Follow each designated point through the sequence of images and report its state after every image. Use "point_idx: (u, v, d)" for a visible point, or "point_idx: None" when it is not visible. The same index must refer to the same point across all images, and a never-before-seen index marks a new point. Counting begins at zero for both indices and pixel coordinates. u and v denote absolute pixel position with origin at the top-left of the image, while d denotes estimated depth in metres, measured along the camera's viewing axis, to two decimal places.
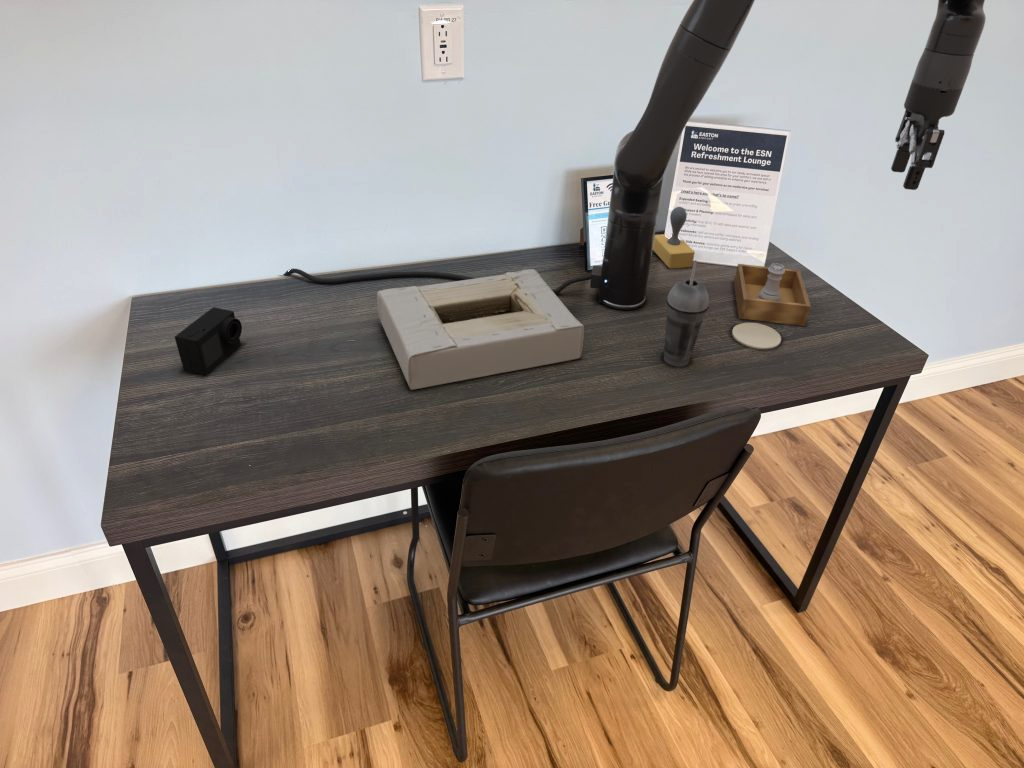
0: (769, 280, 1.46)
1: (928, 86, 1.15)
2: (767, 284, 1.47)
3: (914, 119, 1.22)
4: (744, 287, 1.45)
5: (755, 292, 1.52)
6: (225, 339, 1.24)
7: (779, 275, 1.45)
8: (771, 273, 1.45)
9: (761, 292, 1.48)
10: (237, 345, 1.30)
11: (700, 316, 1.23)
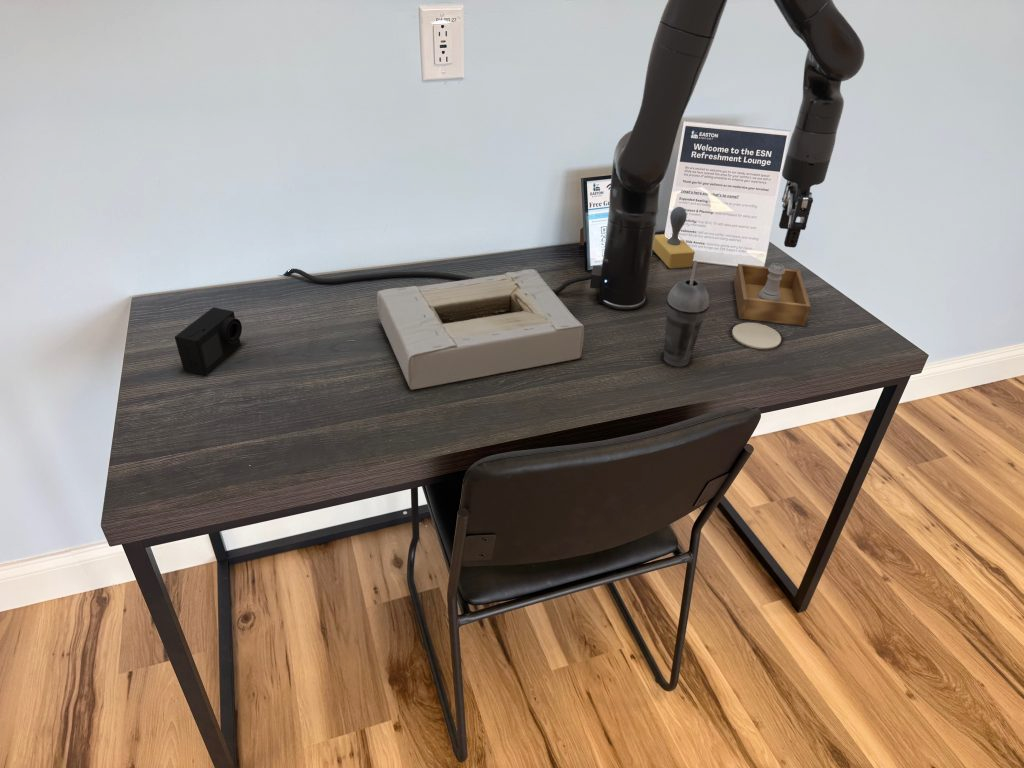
0: (769, 280, 1.46)
1: (798, 159, 1.29)
2: (767, 284, 1.47)
3: (792, 185, 1.36)
4: (744, 287, 1.45)
5: (755, 292, 1.52)
6: (225, 339, 1.24)
7: (779, 275, 1.45)
8: (771, 273, 1.45)
9: (761, 292, 1.48)
10: (237, 345, 1.30)
11: (700, 316, 1.23)
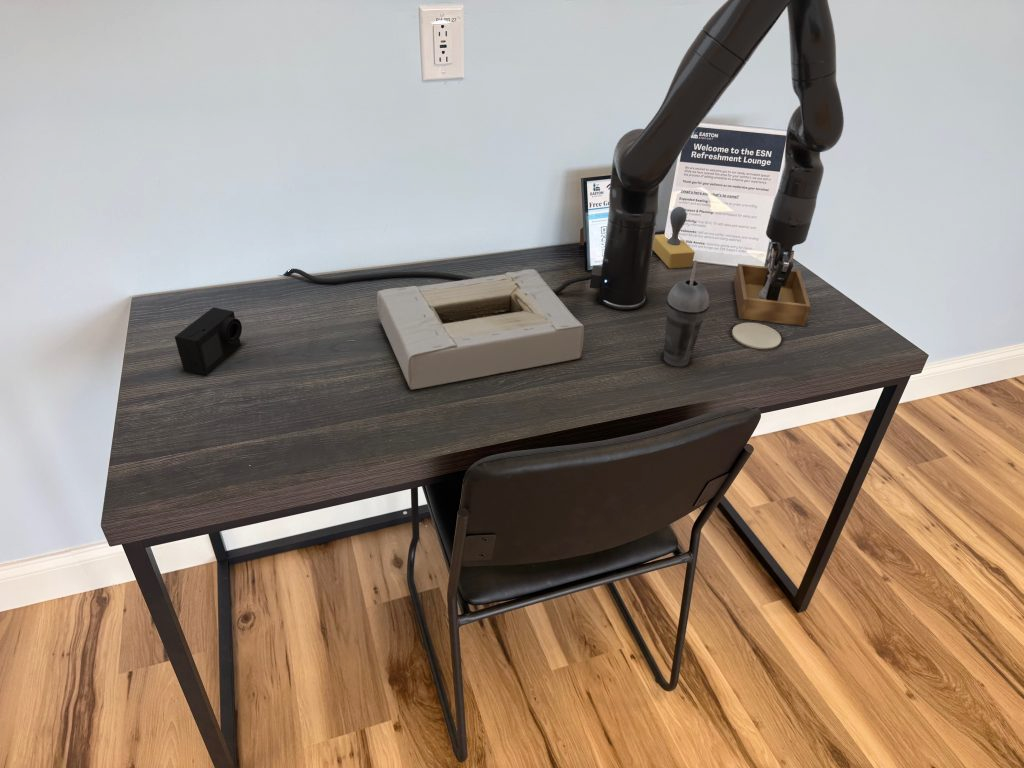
0: (769, 280, 1.46)
1: (781, 221, 1.36)
2: (767, 284, 1.47)
3: (776, 242, 1.43)
4: (744, 287, 1.45)
5: (755, 292, 1.52)
6: (225, 339, 1.24)
7: None
8: (771, 273, 1.45)
9: (761, 292, 1.48)
10: (237, 345, 1.30)
11: (700, 316, 1.23)
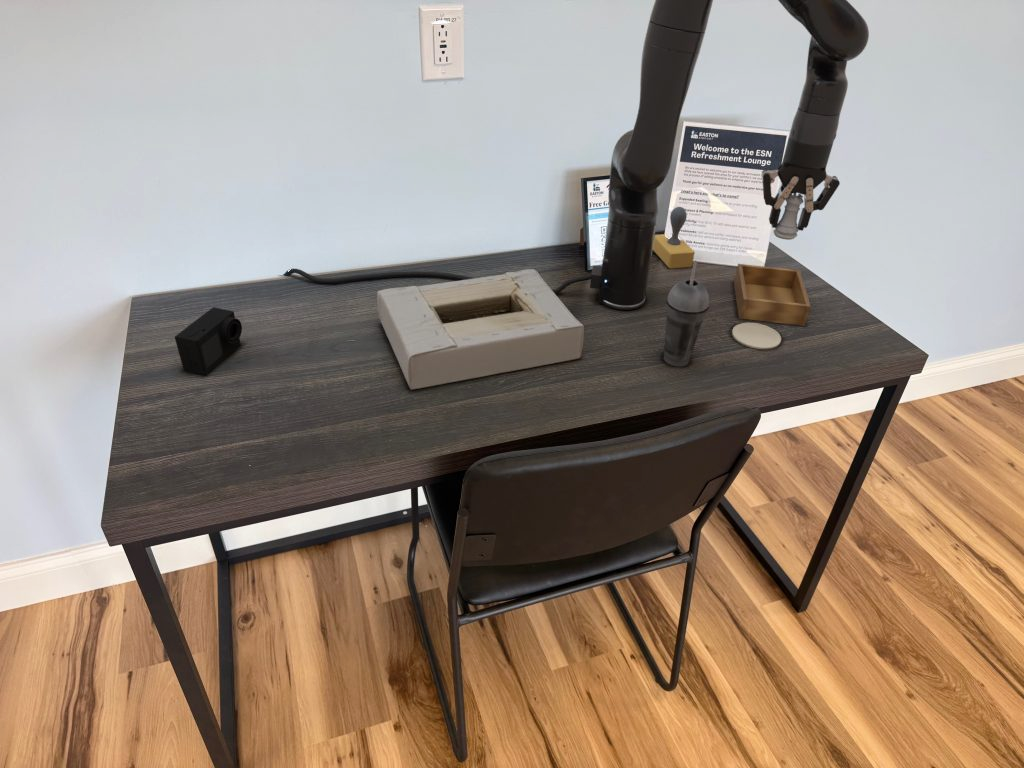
0: None
1: None
2: None
3: None
4: (744, 287, 1.45)
5: (755, 292, 1.52)
6: (225, 339, 1.24)
7: (787, 203, 1.36)
8: None
9: None
10: (237, 345, 1.30)
11: (700, 316, 1.23)
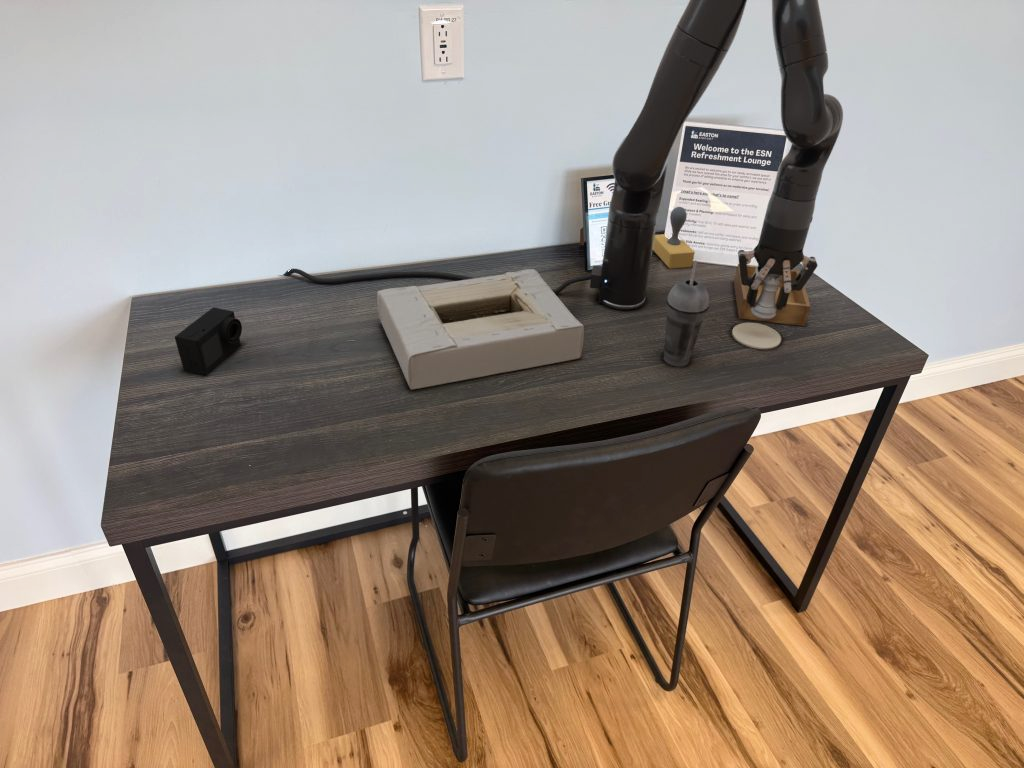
0: None
1: None
2: None
3: None
4: (744, 287, 1.45)
5: None
6: (225, 339, 1.24)
7: (765, 283, 1.32)
8: None
9: None
10: (237, 345, 1.30)
11: (700, 316, 1.23)
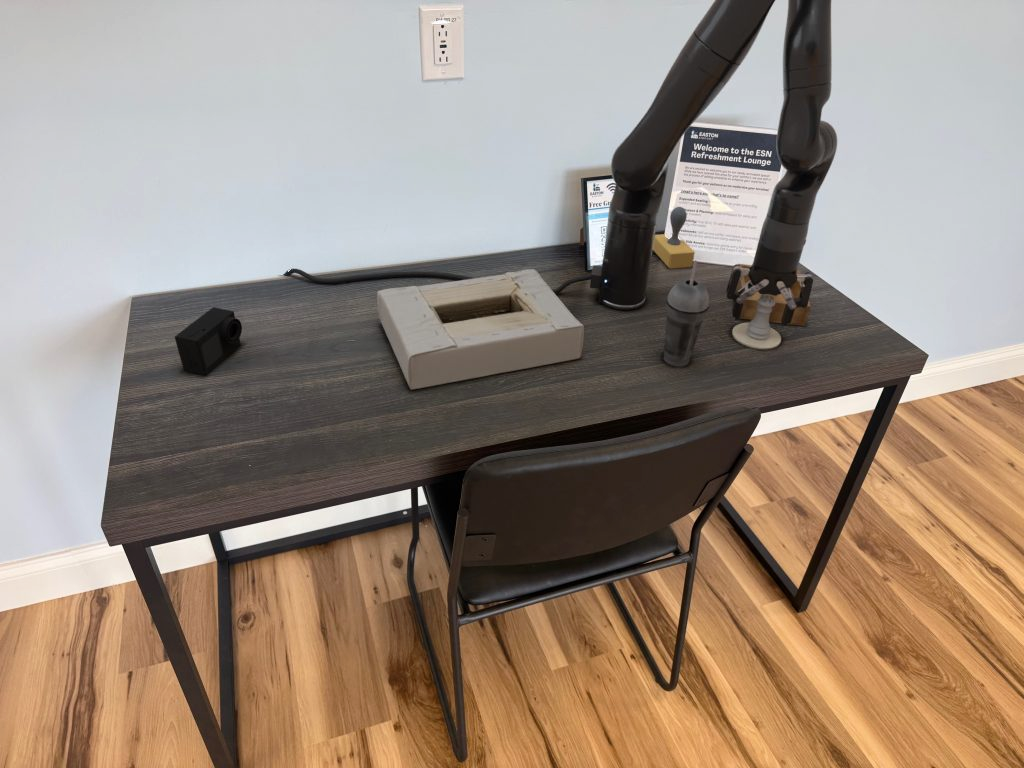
0: None
1: None
2: None
3: None
4: None
5: None
6: (225, 339, 1.24)
7: (759, 305, 1.34)
8: None
9: None
10: (237, 345, 1.30)
11: (700, 316, 1.23)
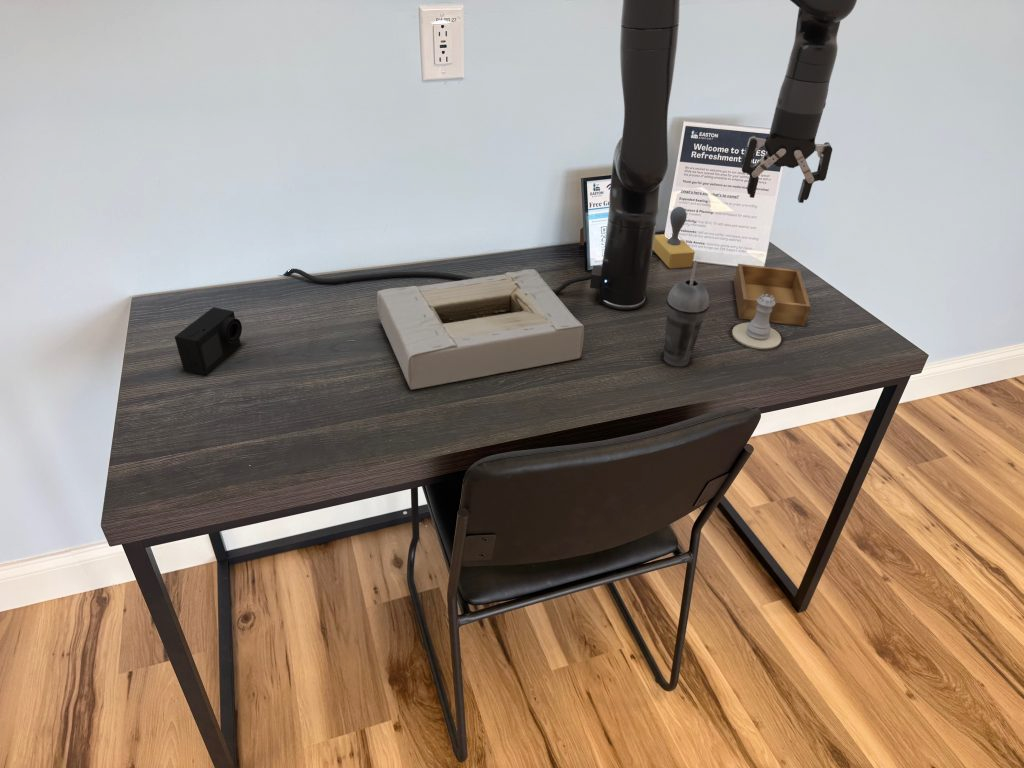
0: None
1: None
2: None
3: None
4: (744, 287, 1.45)
5: (755, 292, 1.52)
6: (225, 339, 1.24)
7: (759, 305, 1.34)
8: None
9: None
10: (237, 345, 1.30)
11: (700, 316, 1.23)
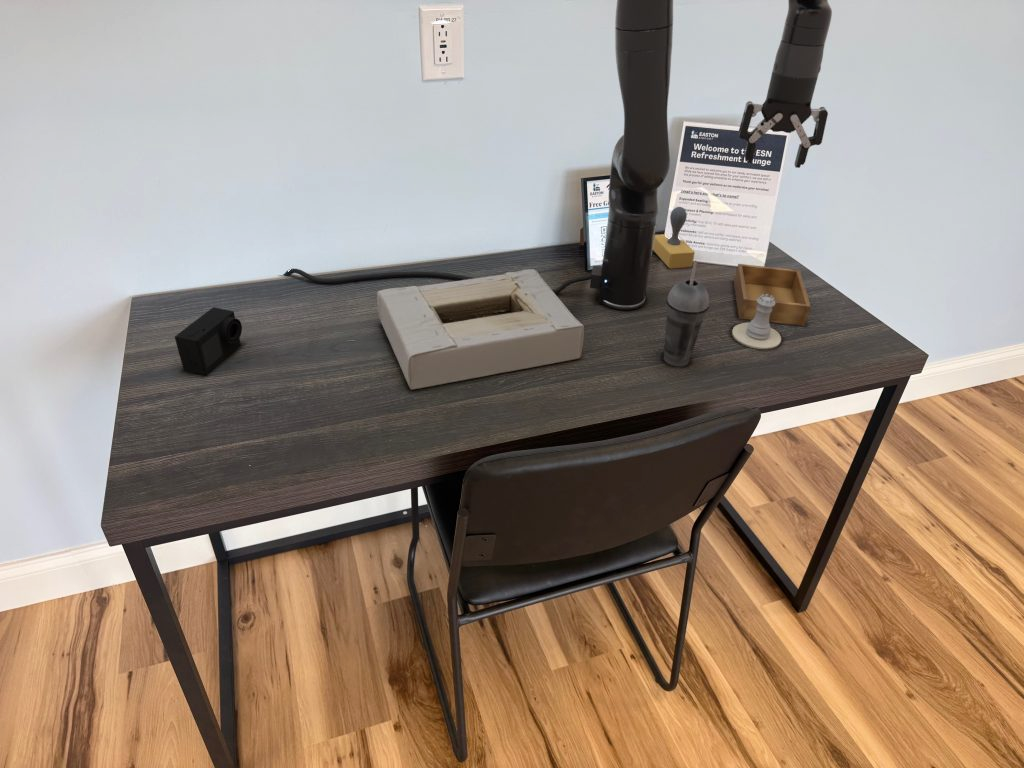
0: None
1: None
2: None
3: None
4: (744, 287, 1.45)
5: (755, 292, 1.52)
6: (225, 339, 1.24)
7: (759, 305, 1.34)
8: None
9: None
10: (237, 345, 1.30)
11: (700, 316, 1.23)
